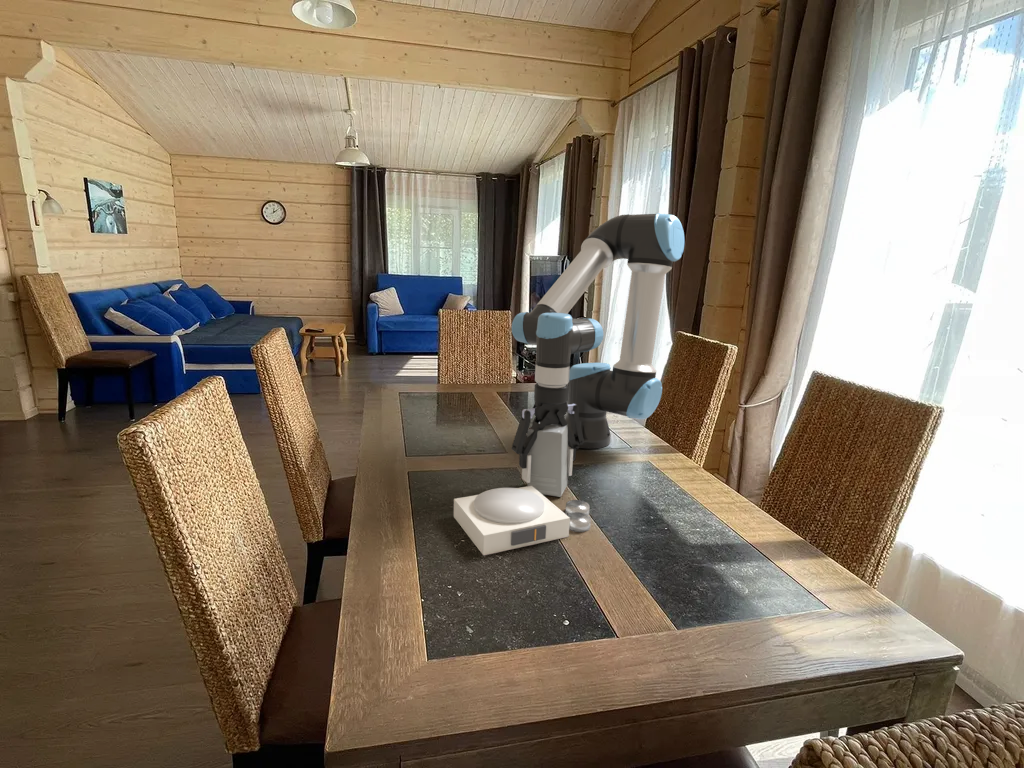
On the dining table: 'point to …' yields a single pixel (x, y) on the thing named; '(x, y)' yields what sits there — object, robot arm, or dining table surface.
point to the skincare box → (549, 460)
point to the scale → (510, 519)
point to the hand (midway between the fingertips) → (547, 477)
